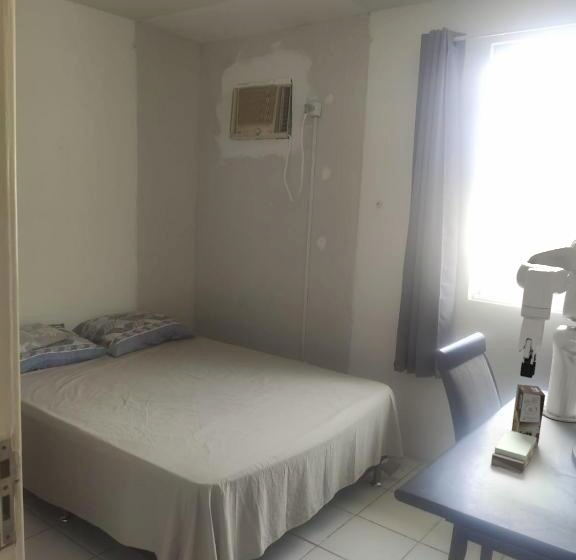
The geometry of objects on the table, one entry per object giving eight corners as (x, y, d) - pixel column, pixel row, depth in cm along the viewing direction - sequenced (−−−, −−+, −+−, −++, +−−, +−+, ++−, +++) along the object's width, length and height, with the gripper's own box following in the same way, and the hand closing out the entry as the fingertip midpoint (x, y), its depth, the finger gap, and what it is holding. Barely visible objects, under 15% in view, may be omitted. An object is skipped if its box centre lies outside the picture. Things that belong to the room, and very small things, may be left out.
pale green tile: (507, 434, 169) (507, 429, 169) (535, 442, 165) (536, 437, 165) (494, 452, 156) (495, 447, 155) (525, 461, 151) (525, 456, 151)
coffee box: (538, 447, 168) (546, 395, 165) (516, 444, 169) (522, 392, 167) (532, 435, 177) (538, 385, 174) (510, 432, 178) (517, 383, 175)
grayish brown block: (505, 443, 169) (506, 433, 169) (534, 451, 165) (535, 441, 164) (490, 465, 154) (492, 454, 153) (521, 474, 150) (523, 463, 149)
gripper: (526, 306, 166) (518, 366, 169) (515, 314, 153) (507, 379, 155) (554, 310, 162) (545, 372, 165) (545, 318, 149) (536, 385, 151)
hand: (527, 375), depth 160 cm, fingers closed
